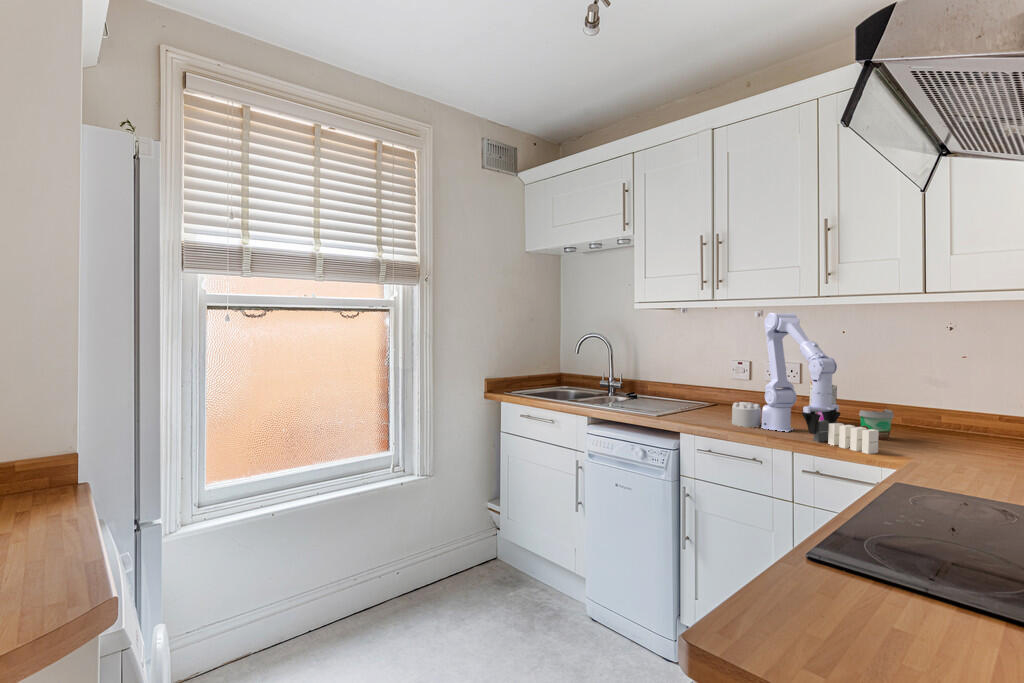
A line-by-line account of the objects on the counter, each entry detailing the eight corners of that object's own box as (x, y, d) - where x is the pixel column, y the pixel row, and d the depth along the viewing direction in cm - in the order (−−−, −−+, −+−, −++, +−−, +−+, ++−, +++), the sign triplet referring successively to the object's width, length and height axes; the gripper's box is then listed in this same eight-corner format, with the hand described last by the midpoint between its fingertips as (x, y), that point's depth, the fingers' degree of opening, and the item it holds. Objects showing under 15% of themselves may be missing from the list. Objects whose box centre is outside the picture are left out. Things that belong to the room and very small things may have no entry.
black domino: (813, 441, 173) (814, 420, 173) (822, 440, 175) (823, 420, 175) (818, 442, 172) (819, 421, 171) (828, 441, 173) (828, 421, 173)
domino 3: (850, 449, 162) (850, 427, 161) (859, 448, 163) (860, 426, 163) (856, 451, 160) (857, 428, 159) (865, 450, 161) (866, 428, 161)
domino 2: (838, 447, 165) (839, 425, 165) (848, 446, 167) (848, 424, 166) (844, 448, 163) (845, 426, 163) (854, 447, 165) (855, 425, 164)
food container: (874, 442, 173) (875, 412, 172) (858, 438, 179) (859, 410, 178) (902, 440, 176) (903, 411, 176) (885, 436, 182) (886, 408, 182)
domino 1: (828, 444, 168) (828, 423, 168) (837, 443, 170) (838, 422, 170) (833, 445, 167) (834, 424, 166) (843, 444, 168) (843, 423, 168)
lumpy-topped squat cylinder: (760, 423, 206) (760, 401, 206) (761, 428, 194) (761, 406, 194) (732, 421, 210) (732, 400, 210) (731, 426, 198) (732, 404, 198)
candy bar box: (807, 421, 212) (809, 381, 211) (820, 421, 212) (821, 381, 211) (823, 426, 201) (825, 384, 200) (836, 426, 201) (837, 384, 200)
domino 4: (861, 452, 158) (862, 430, 158) (871, 451, 160) (871, 429, 159) (868, 453, 156) (868, 431, 156) (877, 452, 158) (878, 430, 158)
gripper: (817, 395, 167) (816, 436, 167) (848, 393, 172) (846, 433, 172) (798, 392, 173) (797, 432, 174) (828, 391, 178) (827, 429, 179)
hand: (820, 432), depth 173 cm, fingers open, 7 cm apart
